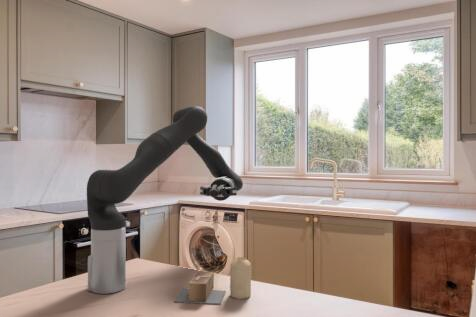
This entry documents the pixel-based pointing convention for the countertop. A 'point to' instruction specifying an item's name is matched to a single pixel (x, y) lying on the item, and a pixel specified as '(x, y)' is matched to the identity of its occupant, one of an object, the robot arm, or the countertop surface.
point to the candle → (240, 278)
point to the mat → (213, 298)
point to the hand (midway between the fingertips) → (213, 193)
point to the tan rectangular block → (201, 286)
